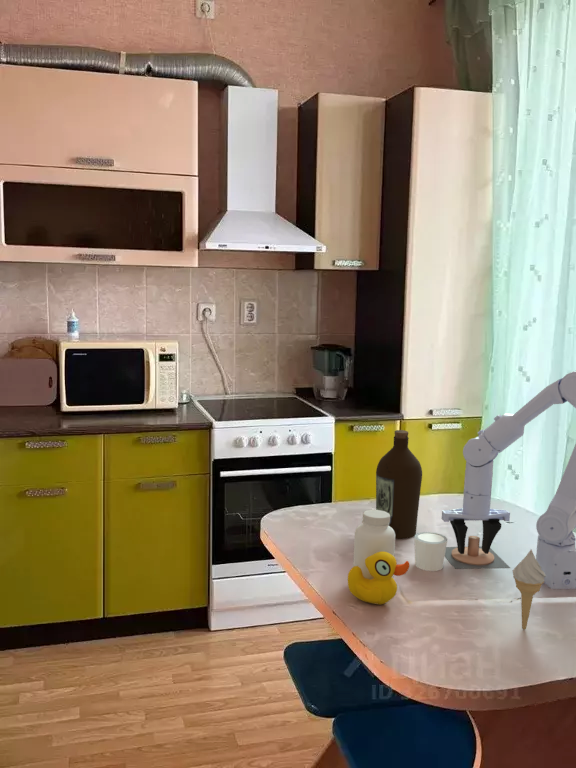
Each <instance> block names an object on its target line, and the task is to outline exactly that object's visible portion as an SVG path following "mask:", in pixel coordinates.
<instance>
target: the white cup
mask: <svg viewBox="0 0 576 768" xmlns="http://www.w3.org/2000/svg"><path fill="white" fill-rule="evenodd" d="M413 540H414V543H413V544H414V565H415V567H416V568H417V569H420V570H423V571H427V572H436V571H440V570H442V569H443V567H444V563H445V558H446V557H445V551H446V547H447V544H448V538H447V536H446V535H443V534H441V533H437V532H431V531H430V532H429V531H423V532H418V533H417V532H416V534H415V536H414V537H413Z"/></svg>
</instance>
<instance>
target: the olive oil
mask: <svg viewBox="0 0 576 768" xmlns="http://www.w3.org/2000/svg"><path fill="white" fill-rule="evenodd" d="M409 439H410V438H409V431H407V430H403V429H397V430H395V431H394V436H393V446H392V447H391V448H390V450H388V451H387V453H385V454H384V455H383V456H382V457H381V458H380V459H379V461H378V462H377V466H376V470H375V510H381V511H385V512H387V513H389V514H390V523H389V526H390V527H391V528H392V529H393V530H394V532H395V540H407V539H411V538H414V536H415V534H417V527H418V514H419V507H420V506H419V505H420V497H421V491H422V490H421V489H422V481H423V469H422V464H421V463H420V461H419V459H418V458H417V457H416V456H415V455H414V453H413V452H412V450H410V449H409Z"/></svg>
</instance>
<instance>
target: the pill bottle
mask: <svg viewBox="0 0 576 768" xmlns="http://www.w3.org/2000/svg"><path fill="white" fill-rule="evenodd" d="M389 523H390V514H389V513H387V512H385V511H381V510H376V509H367V510H365V511H363V513H362V521H361V523H360V524H359V525H358V526H356V528H355V531H354V539H353V563H352V565H353V566H352V568H353V567H354V566H358V567H360V568H361V570H362V573H363V576H364V577H365V578H367V579H373V578H374V577H373V576H372V575H371V574H370V573H369V571H368V568H367V567H366V565H365V559H366V558H367V557H369V556H371V555H373V554H375V553H377V552H381V551H384V552H388V553H390V554H391V555H393V556H394V557H395V550H396V539H395V532H394V530H393V529H392V528H391V527H390V526H389ZM392 578H393V579H394V575H393V576H392Z"/></svg>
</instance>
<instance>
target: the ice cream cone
mask: <svg viewBox="0 0 576 768" xmlns="http://www.w3.org/2000/svg"><path fill="white" fill-rule="evenodd" d="M512 575H513V576H512V577H513V579H514V583H515V587H516V588H517V589H518V590H519V592H520V596H521V597H520V598H521V600H520V601H521V602H520V605H521V606H520V607H521V629H522V630H523V631H526V630H527V626H528V621H529V617H530V612H531V608H532V603H533V600H534V599H533V598H534V596H535V595H536V594H537V593H539V591H541V587H542V586H543V584H545V583H544V577H546V575H545V573H544V572H543V571H542V570H541V566H540V565H539V563H538V561H537V560H536V555H535V554H534V552H533V549H531V548H530V550H529V551H528V553H527V554H526V556H524V557H523V559H522V560H521V561H520V562H519V563H518V564H517V565H516V566H515V567H514V568H513V570H512Z"/></svg>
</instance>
